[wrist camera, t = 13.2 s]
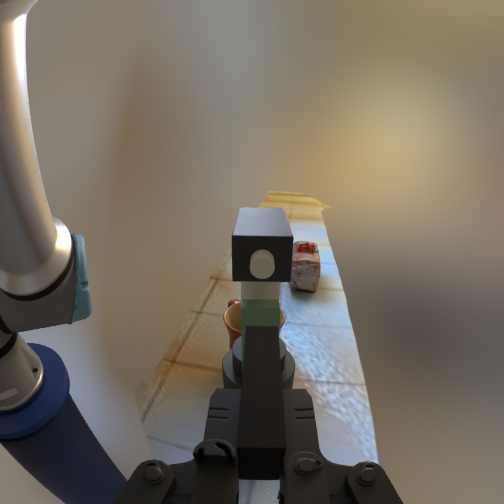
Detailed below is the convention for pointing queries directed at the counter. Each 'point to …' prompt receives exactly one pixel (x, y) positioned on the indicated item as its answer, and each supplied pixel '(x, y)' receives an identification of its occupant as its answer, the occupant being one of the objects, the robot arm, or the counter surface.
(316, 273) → the food item
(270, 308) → the trigger
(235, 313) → the mug
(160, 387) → the counter surface
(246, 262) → the spray bottle
